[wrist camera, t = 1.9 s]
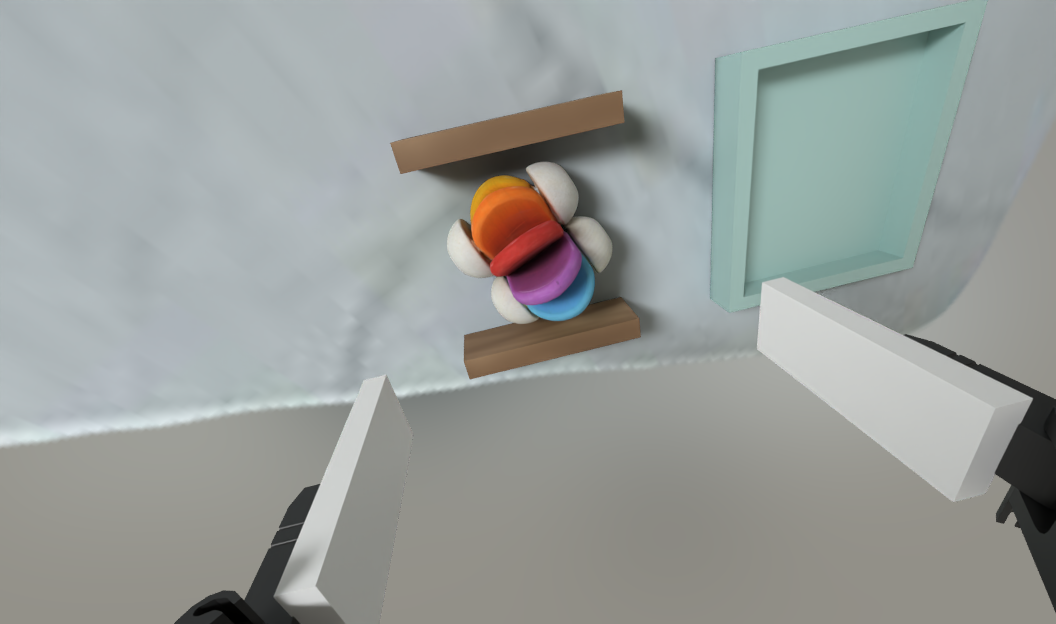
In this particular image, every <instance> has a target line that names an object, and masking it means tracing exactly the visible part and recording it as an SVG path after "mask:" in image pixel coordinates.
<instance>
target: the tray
mask: <svg viewBox="0 0 1056 624" xmlns="http://www.w3.org/2000/svg"><path fill="white" fill-rule="evenodd" d="M987 1H988V0H969V1H965V2H960V3H956V4H952V5H947V6H943V7H938V8H934V9H930V10H925V11H921V12H916V13H912V14H907V15H903V16H899V17H894V18H890V19H885V20H881V21H877V22H872V23H868V24H863V25H859V26H854V27H850V28H846V29H841V30H837V31H832V32H828V33H824V34H819V35H815V36H810V37H806V38H801V39H797V40H793V41H788V42H784V43H779V44H775V45H771V46H766V47H762V48H757V49H753V50H749V51H744V52H740V53H736V54H732V55H728V56H724V57H720V58H715V98H714V144H713V191H712V238H711V284H710V299H711V300H713V301H714V302H715V303H717V304H718V305H719V306H721V307H722V308H723V309H725V310H726V311H727V312H729V313H731V312H735V311H739V310H743V309H747V308H751V307H755V306H759V305H760V303H761V290H762V282H765V281H769V280H773V279H778V278H782V277H784V278H786V279H788V280H790V281H792V282H795V283H797V284H799V285H801V286H803V287H805V288H807V289H809V290H811V291H813V292H816V291H820V290H824V289H828V288H832V287H836V286H840V285H845V284H849V283H853V282H857V281H861V280H865V279H869V278H873V277H877V276H881V275H885V274H889V273H893V272H897V271H901V270H905V269H909V268H913V265H914V261H915V258H916V254H917V250H918V247H919V243H920V240H921V236H922V233H923V229H924V226H925V222H926V218H927V215H928V211H929V208H930V204H931V201H932V197H933V194H934V190H935V186H936V183H937V179H938V176H939V172H940V169H941V165H942V162H943V158H944V154H945V151H946V147H947V144H948V140H949V137H950V133H951V130H952V126H953V122H954V119H955V115H956V112H957V108H958V105H959V101H960V97H961V94H962V90H963V87H964V83H965V80H966V76H967V73H968V69H969V65H970V62H971V58H972V55H973V51H974V48H975V44H976V41H977V37H978V33H979V30H980V26H981V23H982V19H983V16H984V12H985V9H986V5H987Z"/></svg>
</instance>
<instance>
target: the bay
mask: <svg viewBox="0 0 1056 624" xmlns="http://www.w3.org/2000/svg"><path fill="white" fill-rule="evenodd" d="M620 123H624V111H623V98H622V90H621V91H616V92H611V93H605V94H600V95H596V96H591V97H587V98H583V99H578V100H574V101H569V102H565V103H561V104H556V105H552V106H547V107H543V108H539V109H534V110H530V111H525V112H521V113H517V114H512V115H508V116H503V117H499V118H495V119H490V120H486V121H481V122H477V123H473V124H468V125H464V126H459V127H455V128H451V129H446V130H442V131H437V132H433V133H429V134H424V135H420V136H415V137H411V138H407V139H402V140H399V141H395V142H392V143H390V144H391V147H392V150H393V153H394V156H395V159H396V162H397V165H398V168H399V171H400V174H403V173H407V172H411V171H416V170H420V169H424V168H429V167H433V166H437V165H442V164H446V163H450V162H455V161H459V160H463V159H468V158H472V157H477V156H481V155H485V154H490V153H494V152H498V151H503V150H507V149H511V148H516V147H520V146H524V145H529V144H533V143H537V142H542V141H546V140H550V139H555V138H559V137H564V136H568V135H572V134H577V133H581V132H585V131H590V130H594V129H598V128H603V127H607V126H611V125H616V124H620ZM639 337H641V336H640V322H639V318H638V316H637V315H636V314H635V313H634V312H633V311H632V309H631V308H630V307H629V306H628V305H627V303H626V302H625V301H624V300H623V299H622V298H621V297H619V298H615V299H611V300H607V301H603V302H599V303H595V304H591V305H588V306H587V307H586V309H585V310H584V311H583V312H582V313H581V314H579V315H578V316H576V317H574V318H571V319H568V320H564V321H550V320H546V319H543V318H540V317H539V318H538V320H536V321H534V322H531V323H527V324H517V323H512V324H508V325H504V326H500V327H496V328H492V329H488V330H484V331H480V332H476V333H471V334H467V335H464V363H465V366H466V369H467V372H468V375H469V378H470V379H473V378H477V377H481V376H485V375H489V374H493V373H497V372H502V371H506V370H510V369H514V368H518V367H522V366H526V365H530V364H534V363H538V362H542V361H546V360H550V359H554V358H558V357H562V356H566V355H570V354H574V353H578V352H583V351H587V350H591V349H595V348H599V347H603V346H607V345H611V344H615V343H619V342H623V341H627V340H631V339H635V338H639Z"/></svg>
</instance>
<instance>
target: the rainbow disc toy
mask: <svg viewBox="0 0 1056 624" xmlns="http://www.w3.org/2000/svg"><path fill="white" fill-rule="evenodd" d="M526 171H527V173H528V175H529V176H530V178H531V180H532V181H533V182H534V185H535V187H534V186H532V185H531V184H529V183H528V182H527V181H525V180H524V179H519V178H517V177H513V176H507V175H502V176H496V177H492V178H490V179H488V180H487V181H485V182H484V183H483V184H482V185H481V186H480V187H479V188H478V190H477V191H476V193H475V195H474V197H473V200H472V204H471V210H470V216H471V220H470V221H471V226H470V225H469V224H468V223H467V222H466V221H464V220H463V219H458V220H457V221H456V222H455V223H454V224H453V226H452V227H451V229H450V232H449V235H448V239H447V249H448V253H449V255H450V257H451V259H452V260H453V262H454V263H455V265H456V266H457V267H458V268H459V269H460V270H461V271H462V272H463V273H464V274H466V275H468V276H471V277H476V278H487V277H491V276H494V275H495V276H496V278H495V280H494V282H493V285H492V290H491V296H492V301H493V303H494V306H495V307H496V309H497V310H498V312H499V313H500V314H501V315H502V316H503V317H504V318H505V319H506V320H508V321H510V322H513V323H517V324H527V323H531V322H534V321H536V320H538V318H539V317H540V318H543V319H546V320H550V321H564V320H568V319H571V318H574V317H576V316H578V315H579V314H581V313H582V312H583V311H584V310H585V309H586V307H587V306H588V304H589V302H590V301H591V298H592V296H593V293H594V288H595V277H594V272H593V269H592V267H591V265H590V264H592V266H593V267H594V268H595V270H596V271H597V272H598V273H600V272H602V271H603V270H604V269H605V268H606V266H607V265H608V263H609V261H610V258H611V255H612V242H611V240H610V238H609V236H608V235H607V233H606V232H605V230H604V229H603V228H602V226H601V225H600V224H599V223H598V222H597V221H596V220H595V219H593V218H590V217H585V216H577V217H573V215H574V213H575V211H576V209H577V205H578V197H579V196H578V191H577V189H576V187H575V185H574V183H573V181H572V180H571V178H570V177H569V175H568V174H567V173H566V171H565V170H564V169H563V168H562V167H561V166H560V165H558V164H556V163H552V162H538V163H534V164H532V165H529V166H528V167H527V168H526ZM560 224H563V225H564V227H565V228H566V230H567V233H566V232H564V231H563V229H562V227H561V226H560Z"/></svg>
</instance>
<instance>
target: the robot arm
mask: <svg viewBox="0 0 1056 624" xmlns="http://www.w3.org/2000/svg"><path fill="white" fill-rule="evenodd" d="M757 349H758V350H759V351H760V352H761V353H763V354H764V355H765V356H767V357H768V358H769V359H771V360H772V361H773V362H774V363H776V364H777V365H778V366H779V367H781V368H782V369H783V370H785V371H786V372H787V373H788V374H790V375H791V376H792V377H794V378H795V379H796V380H797V381H799V382H800V383H801V384H802V385H804V386H805V387H807V388H808V389H809V390H810V391H811V392H813V393H814V394H815V395H816V396H818V397H819V398H820V399H822V400H823V401H824V402H825V403H827V404H828V405H829V406H831V407H832V408H833V409H834V410H836V411H837V412H838V413H840V414H841V415H842V416H843V417H845V418H846V419H847V420H849V421H850V422H851V423H852V424H854V425H855V426H856V427H857V428H859V429H860V430H861V431H863V432H864V433H865V434H866V435H868V436H869V437H870V438H872V439H873V440H874V441H876V442H877V443H878V444H879V445H881V446H882V447H883V448H884V449H886V450H887V451H889V453H891V454H892V455H893V456H895V457H896V458H897V459H899V460H900V461H901V462H902V463H904V464H905V465H906V466H907V467H909V468H910V469H911V470H913V471H914V472H915V473H916V474H918V475H919V476H921V477H922V478H923V479H924V480H925V481H927V482H928V483H929V484H931V485H932V486H933V487H934V488H936V489H937V490H938V491H940V492H941V493H942V494H943V495H945V496H946V497H947V498H948V499H950V500H951V501H952V502H957V501H961V500H964V499H968V498H972V497H975V496H979V495H983V494H986V492H987V490H988V488H989V486H990V484H991V482H992V480H993V478H994V476H995V474H996V475H998V476H999V477H1001V478H1002V479H1004V480H1005V481H1007V482H1008V483H1010V484H1011V487H1010V489H1009V491H1008V493H1007V494H1006V496H1005V498H1004V500H1003V502H1002V504H1001V506H1000V507H999V509H998V511H997V513H996V522H999V523H1005V521H1006V519H1007V517H1008V515H1009V514H1010V513H1011V512H1014V514H1015V516H1016V518H1017V522H1016V524H1015V527H1018V528H1021V530H1022V533H1023V535H1024V537H1025V540H1026V542H1027V545H1028V547H1029V550H1030V552H1031V554H1032V557H1033V559H1034V562H1035V564H1036V566H1037V569H1038V571H1039V574H1040V576H1041V578H1042V581H1043V583H1044V585H1045V588H1046V590H1047V593H1048V595H1049V598H1050V600H1051V602H1052V605H1053V607H1054V610H1055V612H1056V399H1054V398H1052V397H1050V396H1047V395H1045V394H1043V393H1041V392H1039V391H1037V390H1034V389H1032V388H1030V387H1028V386H1026V385H1024V384H1022V383H1020V382H1018V381H1015V380H1013V379H1011V378H1009V377H1007V376H1005V375H1003V374H1000V373H998V372H996V371H994V370H992V369H990V368H988V367H985V366H983V365H981V364H979V365H977V364H976V362H975V361H973V360H971V359H968V358H966V357H964V356H962V355H959V356H958V355H957V354H956V352H954V351H951V350H949V349H947V348H945V347H943V346H941V345H939V344H936V343H934V342H932V341H928V340H924V339H921V338H917V337H914V336H910V335H907V334H905V335H902V334H900V333H897V332H895V331H893V330H891V329H889V328H887V327H885V326H883V325H881V324H879V323H877V322H875V321H873V320H871V319H869V318H867V317H865V316H862V315H860V314H858V313H856V312H854V311H852V310H850V309H848V308H846V307H844V306H842V305H840V304H838V303H836V302H834V301H832V300H830V299H827V298H825V297H823V296H821V295H819V294H817V293H815V292H813V291H811V290H809V289H807V288H805V287H803V286H801V285H799V284H797V283H795V282H792V281H790V280H788V279H786V278H784V277H782V278H778V279H773V280H769V281H765V282H762V290H761V303H760V315H759V328H758V340H757ZM413 436H414V435H413V433H412V430H411V428H410V426H409V424H408V421H407V419H406V417H405V415H404V413H403V410H402V408H401V406H400V404H399V402H398V399H397V397H396V395H395V393H394V390H393V388H392V386H391V384H390V382H389V379H388V377H387V375H383V376H379V377H375V378H371V379H367V380H364V381H363V383H362V386H361V388H360V390H359V393H358V395H357V398H356V400H355V402H354V405H353V407H352V410H351V412H350V414H349V417H348V419H347V422H346V424H345V426H344V429H343V431H342V434H341V436H340V438H339V441H338V443H337V446H336V448H335V451H334V453H333V455H332V458H331V460H330V462H329V465H328V467H327V470H326V472H325V475H324V477H323V479H322V482H321V484H318V485H314V486H310V487H306V488H304V489H303V491H302V492H301V493H300V494H299V495H298V496H297V498H296V499H295V500H294V501H293V502H292V504H291V505H290V506H289V508H288V509H287V512H286V514H285V516H284V518H283V520H282V522H281V524H280V526H279V528H280V530H279V531H277V533H276V535H275V537H274V539H273V541H272V543H271V548H270V549H269V550H268V552H267V554H266V556H265V558H264V560H263V562H262V564H261V566H260V568H259V570H258V573H257V575H256V577H255V579H254V581H253V583H252V585H251V588H250V589H249V592H248V594H247V596H246V598H245V600H243V599H242V598H241V597H240V596H239V595H238V594H237V593H236V592H235V591H221V592H218V593H215V594H213V595H210V596H208V597H206V598H205V599H203V600H202V601H200V602H199V603H197V604H195V605H194V606H192V607H191V608H190V609H189V610H188V611H187V612H186V613H185V614H184V615H183V616H181V617H180V618H179V619H178V620H177V621H176V622H175V623H174V624H379V623H380V618H381V612H382V607H383V601H384V596H385V590H386V584H387V579H388V574H389V568H390V563H391V557H392V552H393V546H394V540H395V535H396V530H397V524H398V519H399V513H400V508H401V502H402V497H403V491H404V486H405V479H406V475H407V469H408V463H409V458H410V453H411V447H412V441H413Z"/></svg>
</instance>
